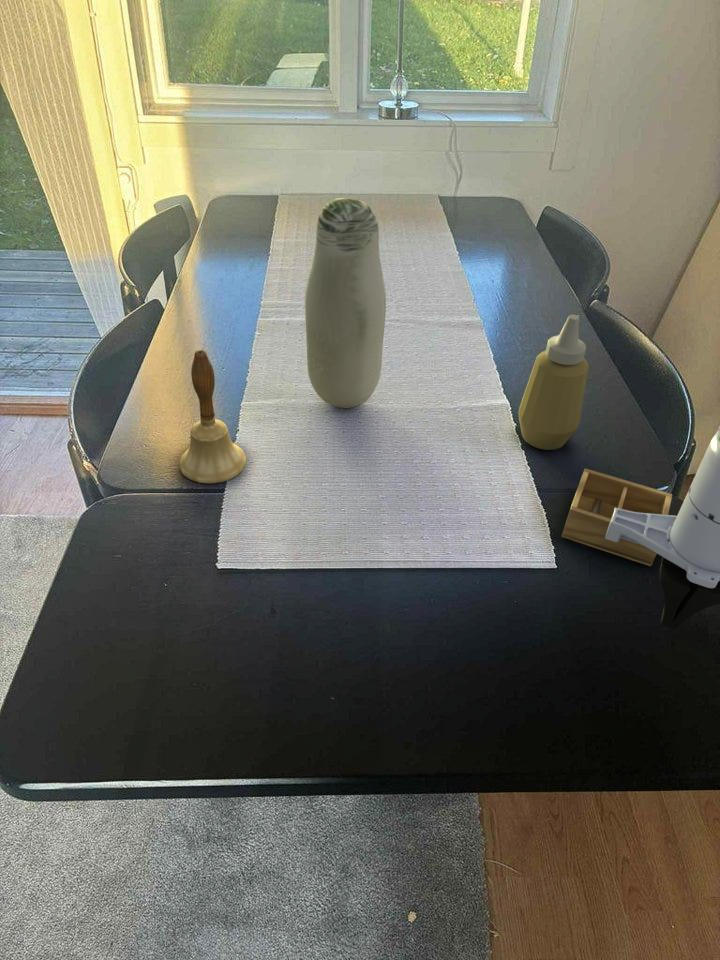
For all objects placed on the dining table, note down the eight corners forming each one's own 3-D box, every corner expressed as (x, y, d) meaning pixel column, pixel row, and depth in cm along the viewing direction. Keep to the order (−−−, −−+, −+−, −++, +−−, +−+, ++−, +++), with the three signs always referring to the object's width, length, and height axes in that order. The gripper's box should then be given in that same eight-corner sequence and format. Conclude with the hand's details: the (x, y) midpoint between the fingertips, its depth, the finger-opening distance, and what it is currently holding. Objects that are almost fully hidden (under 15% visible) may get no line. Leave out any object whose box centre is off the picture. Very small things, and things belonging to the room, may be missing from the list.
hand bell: (220, 434, 93) (207, 327, 83) (259, 464, 89) (250, 354, 78) (166, 461, 89) (145, 351, 78) (205, 493, 84) (187, 381, 74)
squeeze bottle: (569, 422, 97) (603, 303, 86) (577, 459, 91) (614, 336, 79) (511, 417, 98) (536, 298, 86) (515, 453, 92) (542, 331, 80)
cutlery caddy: (651, 566, 77) (663, 538, 74) (561, 537, 80) (570, 509, 77) (660, 521, 83) (672, 493, 80) (576, 495, 86) (585, 468, 83)
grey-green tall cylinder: (294, 395, 100) (287, 196, 82) (350, 372, 105) (355, 180, 87) (336, 428, 95) (338, 223, 76) (393, 403, 100) (408, 204, 81)
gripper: (619, 504, 51) (575, 621, 60) (842, 574, 46) (759, 689, 55) (635, 450, 55) (592, 566, 64) (838, 508, 51) (762, 624, 60)
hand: (670, 618), depth 60 cm, fingers closed
